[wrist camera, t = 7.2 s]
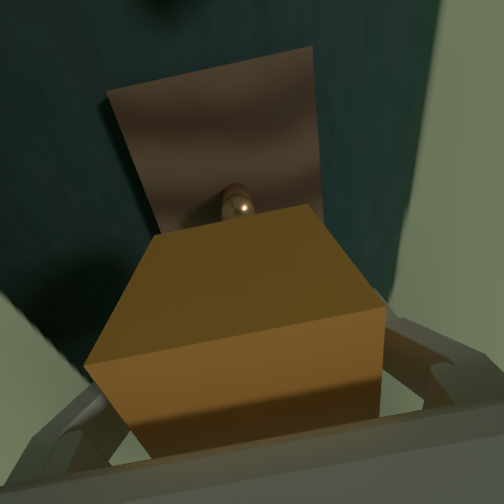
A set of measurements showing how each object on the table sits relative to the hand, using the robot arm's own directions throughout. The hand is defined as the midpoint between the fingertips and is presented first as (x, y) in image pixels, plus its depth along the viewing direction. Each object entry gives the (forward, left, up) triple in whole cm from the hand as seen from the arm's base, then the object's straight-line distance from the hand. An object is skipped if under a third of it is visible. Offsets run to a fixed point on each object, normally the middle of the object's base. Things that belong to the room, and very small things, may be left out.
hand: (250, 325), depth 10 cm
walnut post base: (0, 0, -16) cm, 16 cm away
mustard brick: (0, 0, -2) cm, 2 cm away
